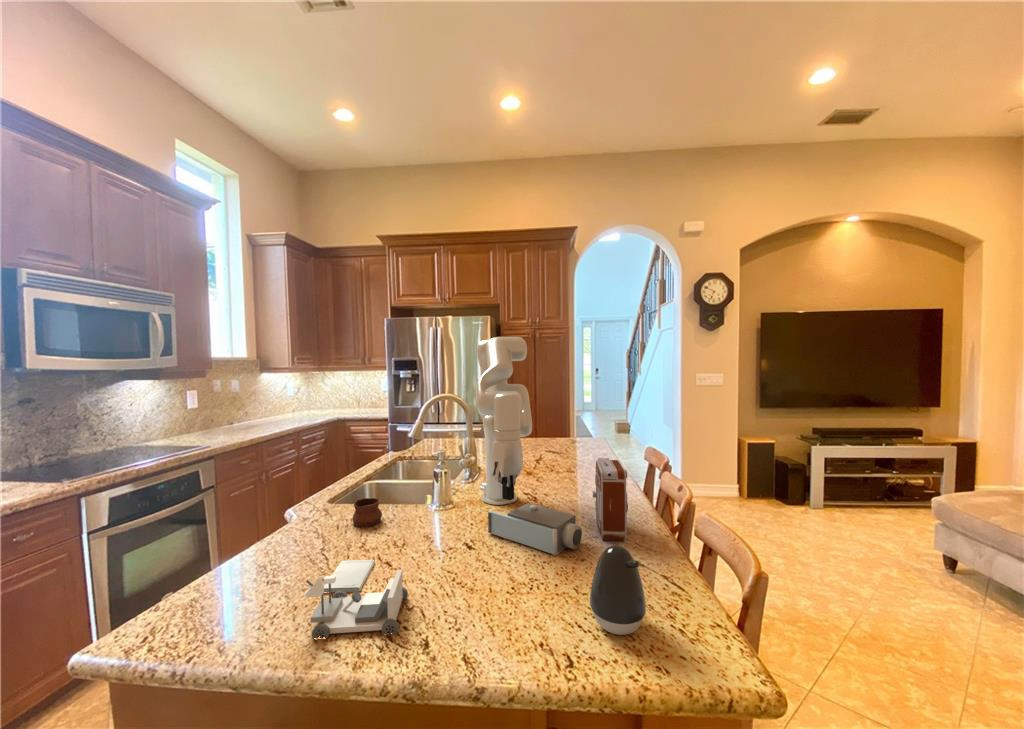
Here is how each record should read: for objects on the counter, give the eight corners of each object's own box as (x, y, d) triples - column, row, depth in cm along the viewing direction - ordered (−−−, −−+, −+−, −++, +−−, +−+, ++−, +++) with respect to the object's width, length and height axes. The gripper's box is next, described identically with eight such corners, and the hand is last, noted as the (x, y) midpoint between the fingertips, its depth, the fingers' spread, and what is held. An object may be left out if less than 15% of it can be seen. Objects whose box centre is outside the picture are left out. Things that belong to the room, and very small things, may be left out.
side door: (487, 533, 118) (487, 511, 118) (491, 531, 119) (490, 509, 119) (555, 556, 104) (554, 531, 104) (558, 554, 105) (558, 529, 105)
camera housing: (507, 538, 116) (507, 510, 116) (528, 526, 124) (528, 500, 123) (568, 558, 104) (568, 527, 104) (587, 543, 112) (586, 515, 111)
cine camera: (619, 516, 131) (619, 453, 130) (631, 543, 111) (631, 470, 111) (590, 515, 132) (590, 452, 131) (597, 542, 112) (596, 469, 112)
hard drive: (359, 587, 90) (374, 558, 102) (321, 588, 89) (341, 559, 102) (359, 594, 90) (374, 565, 102) (321, 596, 90) (341, 566, 102)
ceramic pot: (331, 538, 117) (331, 513, 117) (340, 515, 134) (341, 494, 134) (396, 532, 121) (397, 508, 121) (398, 511, 139) (398, 490, 139)
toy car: (295, 590, 74) (319, 558, 86) (296, 644, 74) (320, 605, 86) (397, 584, 76) (407, 554, 87) (398, 636, 76) (408, 599, 88)
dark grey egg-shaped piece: (616, 652, 71) (615, 565, 70) (579, 618, 80) (578, 541, 80) (658, 633, 76) (658, 551, 75) (619, 603, 85) (619, 530, 84)
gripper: (512, 431, 128) (513, 490, 128) (480, 438, 116) (481, 503, 116) (532, 433, 124) (533, 494, 123) (501, 440, 112) (502, 508, 111)
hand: (508, 498), depth 120 cm, fingers closed
